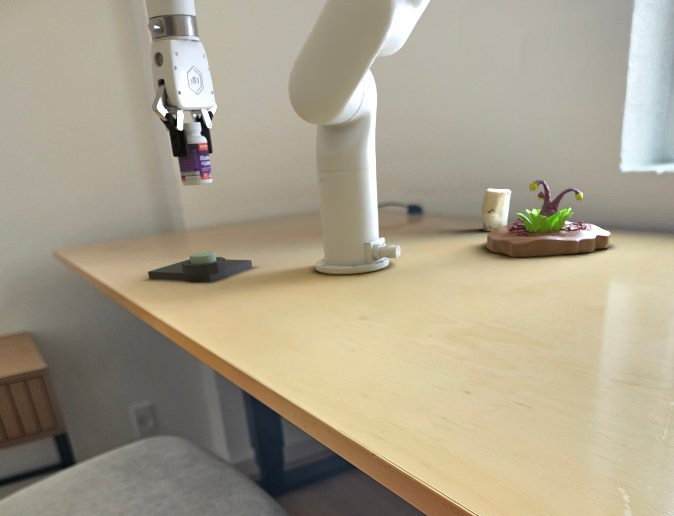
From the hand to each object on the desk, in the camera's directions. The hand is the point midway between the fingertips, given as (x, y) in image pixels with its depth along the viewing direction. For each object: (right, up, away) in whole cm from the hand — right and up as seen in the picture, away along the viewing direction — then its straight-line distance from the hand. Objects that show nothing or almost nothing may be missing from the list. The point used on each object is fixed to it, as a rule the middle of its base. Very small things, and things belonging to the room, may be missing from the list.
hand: (193, 154), depth 114 cm
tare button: (+2, -19, -2) cm, 20 cm away
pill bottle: (0, -5, +2) cm, 5 cm away
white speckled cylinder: (+58, -5, +24) cm, 63 cm away
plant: (+62, -15, +4) cm, 64 cm away
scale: (+1, -20, +4) cm, 20 cm away
